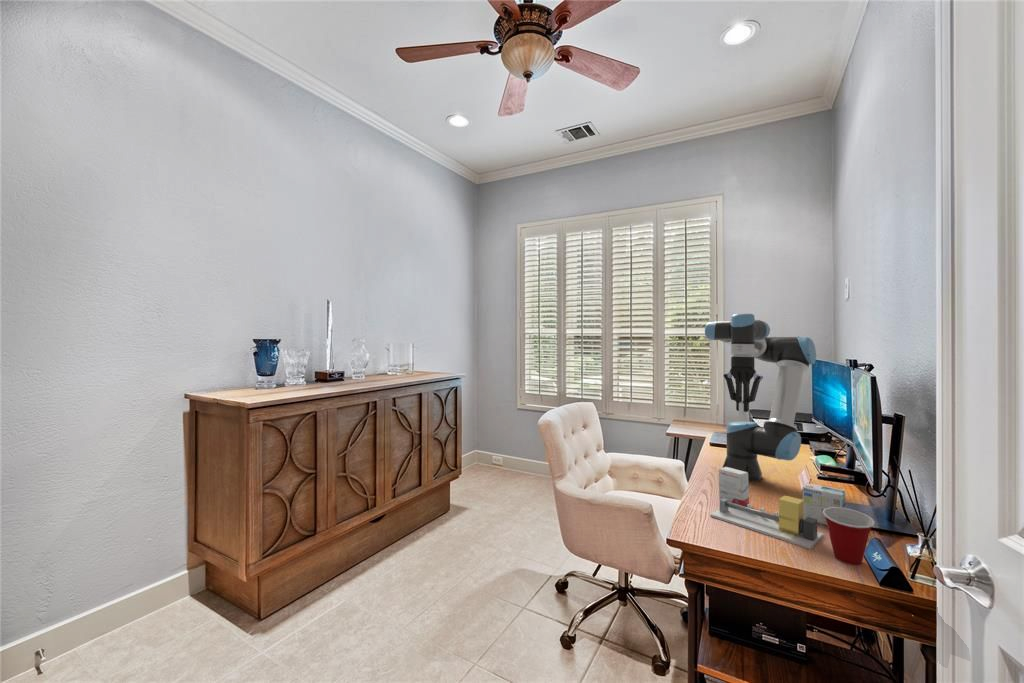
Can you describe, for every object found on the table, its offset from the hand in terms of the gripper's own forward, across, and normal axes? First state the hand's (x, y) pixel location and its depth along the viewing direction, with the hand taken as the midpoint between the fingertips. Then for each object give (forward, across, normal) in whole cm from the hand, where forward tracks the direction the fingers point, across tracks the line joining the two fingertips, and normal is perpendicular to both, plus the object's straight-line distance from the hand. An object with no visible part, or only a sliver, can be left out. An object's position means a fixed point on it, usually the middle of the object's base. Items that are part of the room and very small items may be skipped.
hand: (742, 420), depth 151 cm
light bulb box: (+30, +24, +2) cm, 38 cm away
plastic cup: (+30, +35, -22) cm, 51 cm away
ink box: (+30, -1, -5) cm, 30 cm away
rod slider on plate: (+29, +13, -17) cm, 36 cm away
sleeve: (+28, +21, -17) cm, 39 cm away
